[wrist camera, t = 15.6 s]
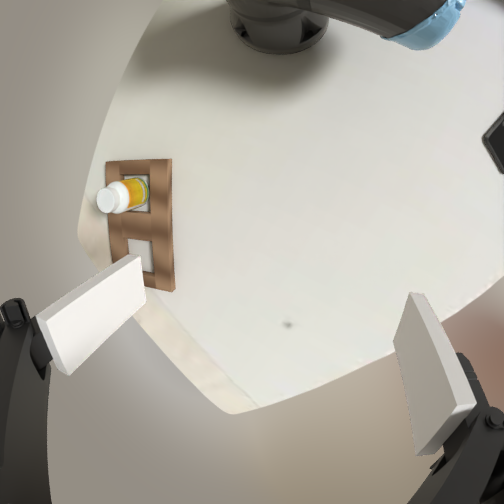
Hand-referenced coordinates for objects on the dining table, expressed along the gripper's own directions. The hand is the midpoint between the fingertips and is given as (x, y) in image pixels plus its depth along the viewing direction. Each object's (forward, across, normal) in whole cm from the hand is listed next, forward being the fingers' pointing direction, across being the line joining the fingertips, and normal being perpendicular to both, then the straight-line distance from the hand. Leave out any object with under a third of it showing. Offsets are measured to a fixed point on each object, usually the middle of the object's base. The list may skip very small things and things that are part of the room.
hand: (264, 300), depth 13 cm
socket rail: (+31, -29, -7) cm, 43 cm away
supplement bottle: (+31, -29, -1) cm, 43 cm away
